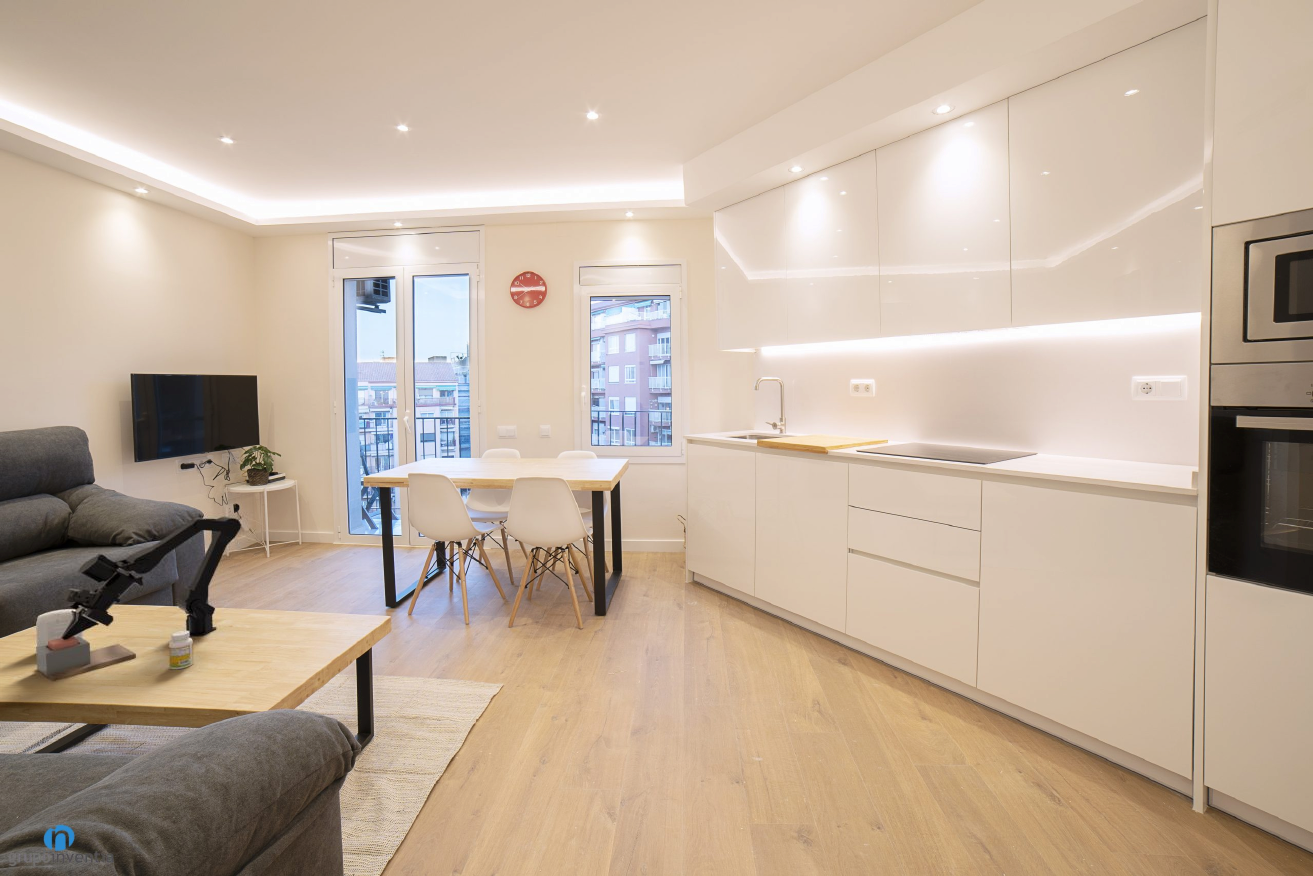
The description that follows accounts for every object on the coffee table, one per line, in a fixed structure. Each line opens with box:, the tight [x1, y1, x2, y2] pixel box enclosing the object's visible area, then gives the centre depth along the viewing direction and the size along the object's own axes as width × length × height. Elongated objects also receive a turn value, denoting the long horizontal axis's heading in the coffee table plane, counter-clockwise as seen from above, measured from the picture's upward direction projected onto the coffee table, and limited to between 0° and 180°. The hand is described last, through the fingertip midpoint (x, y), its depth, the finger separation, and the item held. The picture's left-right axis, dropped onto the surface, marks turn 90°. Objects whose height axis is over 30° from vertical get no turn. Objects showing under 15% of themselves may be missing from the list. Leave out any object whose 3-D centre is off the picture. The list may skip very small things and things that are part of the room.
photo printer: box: [35, 608, 84, 647], centre depth 182 cm, size 10×4×12 cm, turn 123°
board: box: [36, 643, 137, 682], centre depth 173 cm, size 18×14×1 cm
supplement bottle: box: [168, 630, 194, 670], centre depth 171 cm, size 5×5×10 cm
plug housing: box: [35, 637, 91, 675], centre depth 169 cm, size 9×9×6 cm
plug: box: [48, 636, 78, 651], centre depth 169 cm, size 5×5×6 cm
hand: (63, 639), depth 168 cm, fingers closed, pressing on plug
